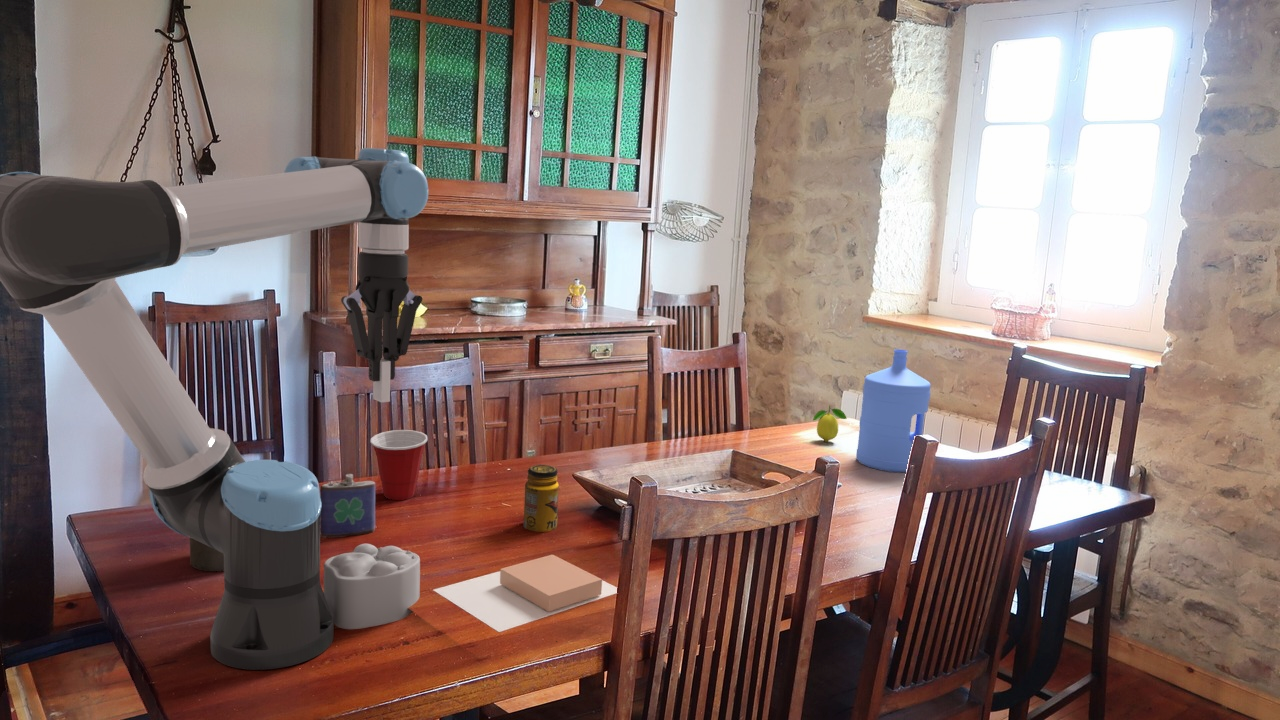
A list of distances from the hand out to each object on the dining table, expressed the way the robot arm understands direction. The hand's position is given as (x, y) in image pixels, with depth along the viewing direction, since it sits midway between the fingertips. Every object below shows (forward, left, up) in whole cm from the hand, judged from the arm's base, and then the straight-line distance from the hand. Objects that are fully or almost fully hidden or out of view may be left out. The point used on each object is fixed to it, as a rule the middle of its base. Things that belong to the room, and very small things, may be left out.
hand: (381, 400), depth 150 cm
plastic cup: (+18, +26, -27) cm, 41 cm away
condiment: (+28, -5, -27) cm, 39 cm away
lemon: (+131, +5, -27) cm, 134 cm away
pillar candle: (-20, +13, -27) cm, 36 cm away
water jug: (+127, -16, -27) cm, 131 cm away
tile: (+13, -22, -24) cm, 35 cm away
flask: (+1, +13, -27) cm, 30 cm away
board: (+10, -26, -26) cm, 39 cm away
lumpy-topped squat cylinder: (-10, -16, -27) cm, 33 cm away
